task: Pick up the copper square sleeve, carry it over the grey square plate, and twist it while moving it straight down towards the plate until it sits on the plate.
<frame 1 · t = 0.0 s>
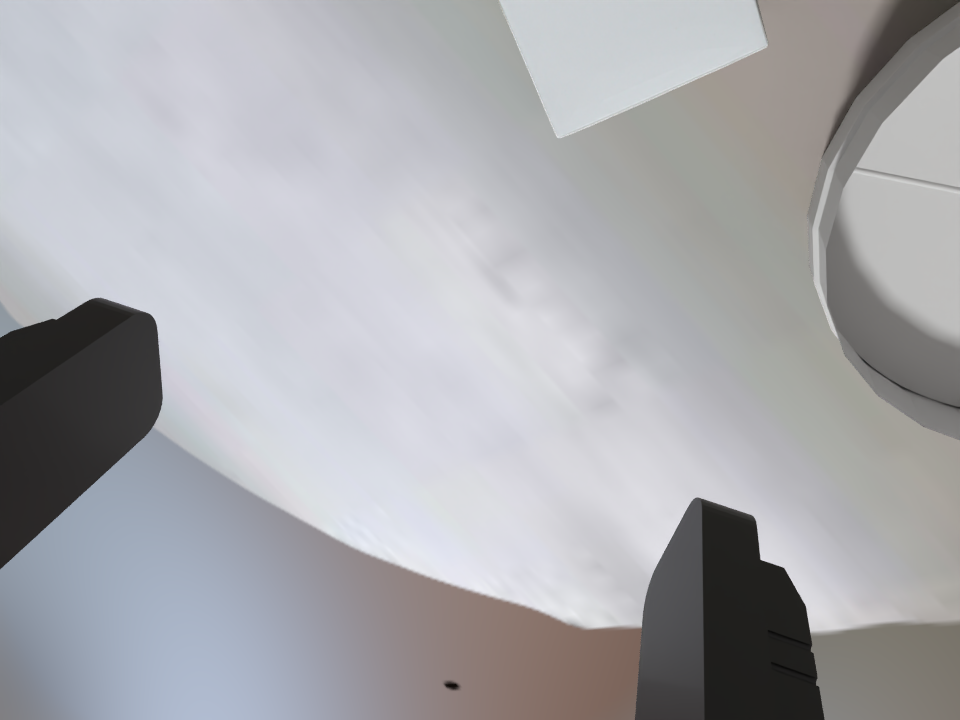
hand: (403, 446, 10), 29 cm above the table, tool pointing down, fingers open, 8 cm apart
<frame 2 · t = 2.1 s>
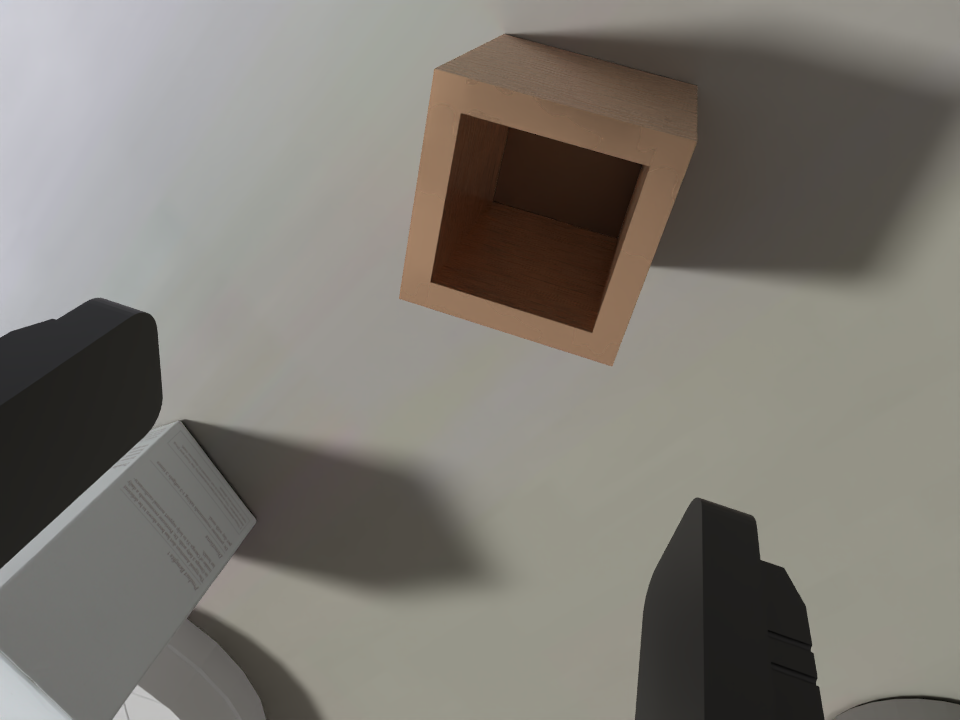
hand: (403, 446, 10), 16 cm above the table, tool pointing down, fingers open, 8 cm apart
supplement box: (179, 482, 38), on the table
dish: (134, 668, 51), on the table
sleeve: (572, 156, 23), on the table
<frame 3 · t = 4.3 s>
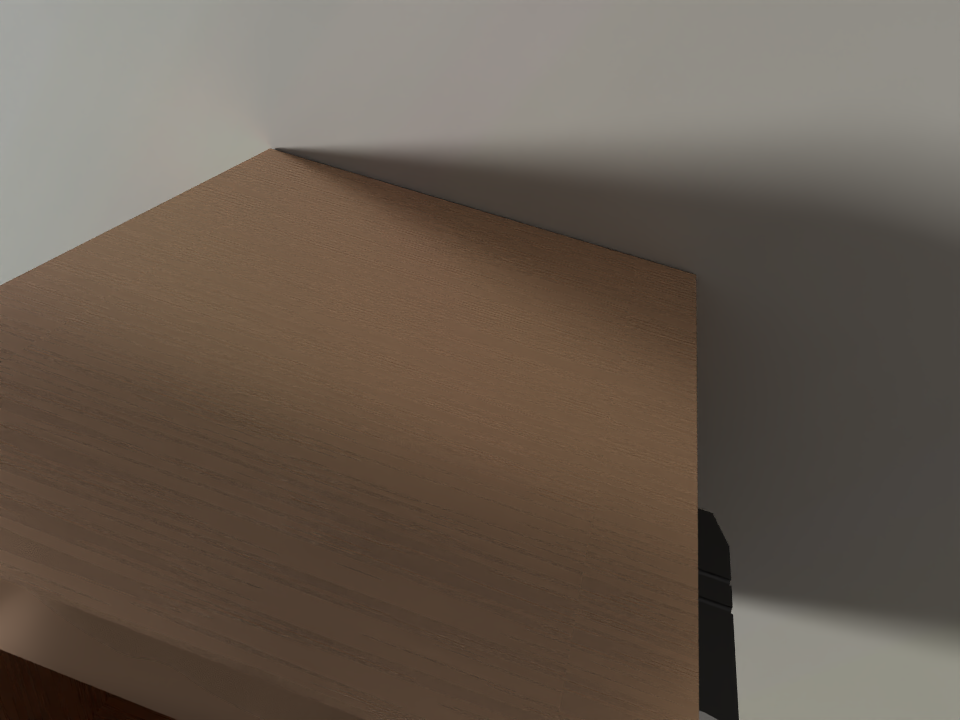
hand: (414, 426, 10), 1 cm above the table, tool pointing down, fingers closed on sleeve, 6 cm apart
sleeve: (439, 385, 11), on the table, touching gripper
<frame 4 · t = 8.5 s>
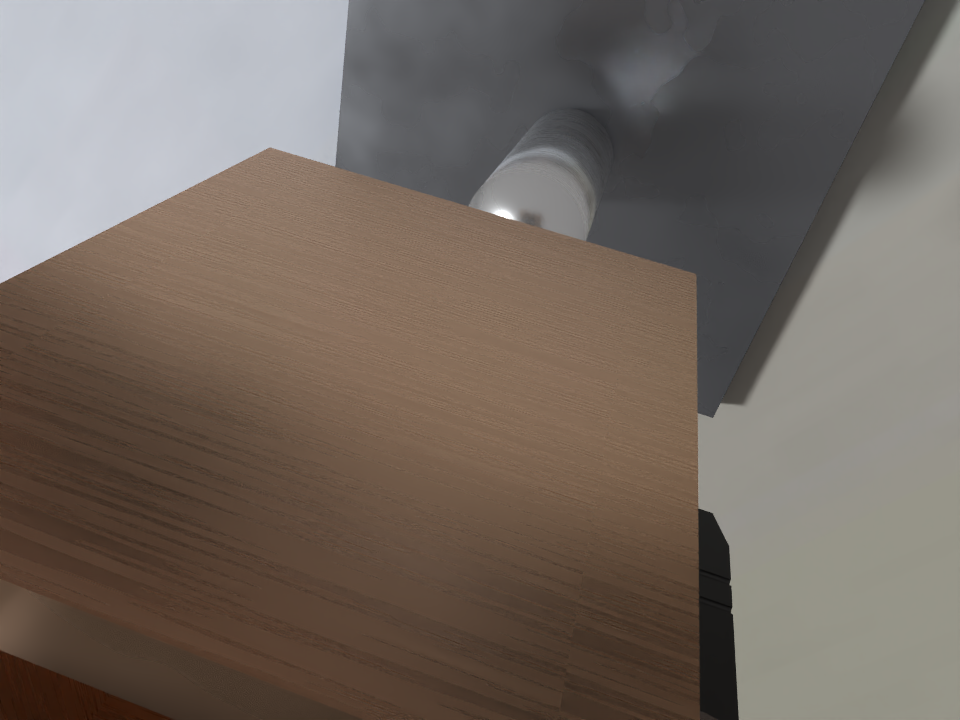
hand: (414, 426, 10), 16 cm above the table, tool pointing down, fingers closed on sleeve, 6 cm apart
sleeve: (439, 385, 11), point 15 cm above the table, touching gripper
grey square plate: (571, 148, 23), on the table
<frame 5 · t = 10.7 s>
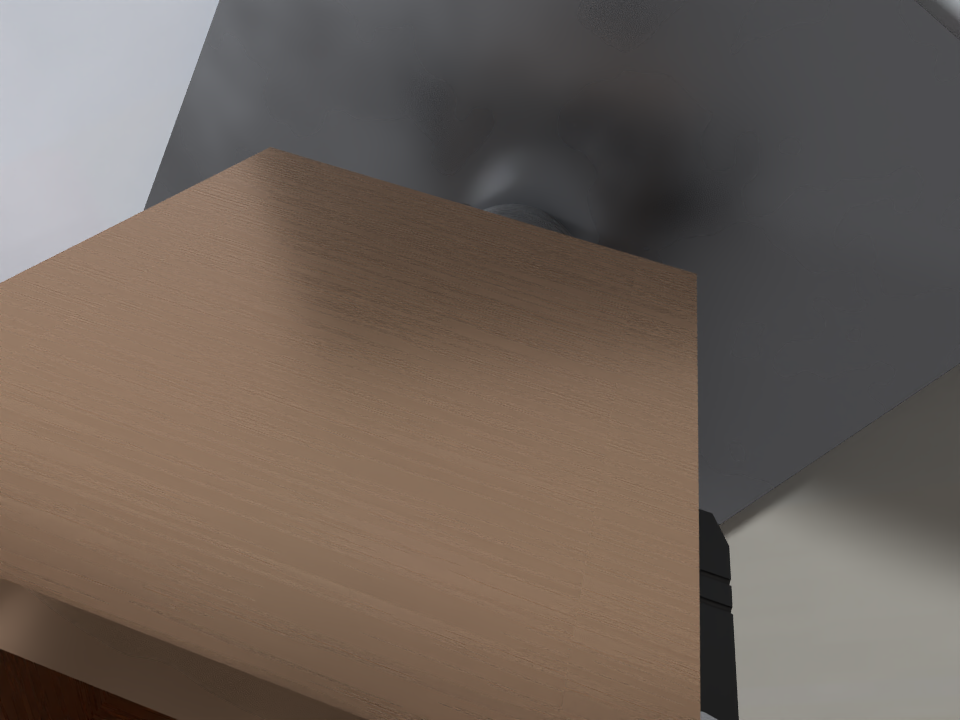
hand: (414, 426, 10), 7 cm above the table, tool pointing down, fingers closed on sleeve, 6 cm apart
sleeve: (439, 384, 11), point 6 cm above the table, touching gripper
grey square plate: (524, 253, 16), on the table
when the fingers open (4 cm above the table, at t = 12.6 s): sleeve drops 1 cm, resting on grey square plate.
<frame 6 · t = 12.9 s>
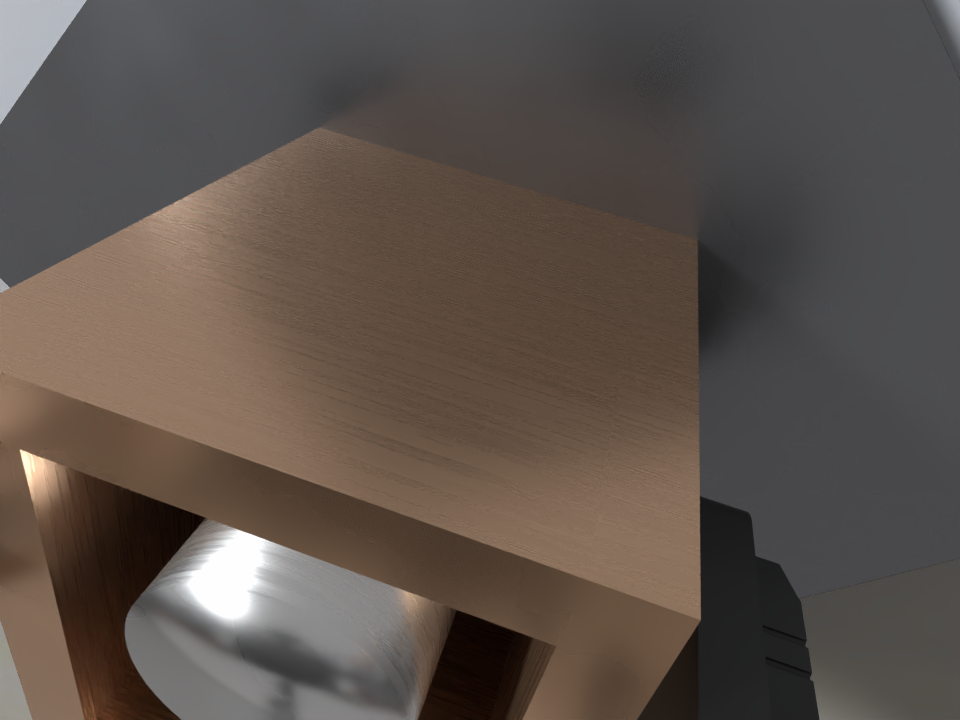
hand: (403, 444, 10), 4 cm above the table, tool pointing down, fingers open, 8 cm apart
sleeve: (465, 344, 12), point 1 cm above the table, touching grey square plate
grey square plate: (477, 315, 13), on the table
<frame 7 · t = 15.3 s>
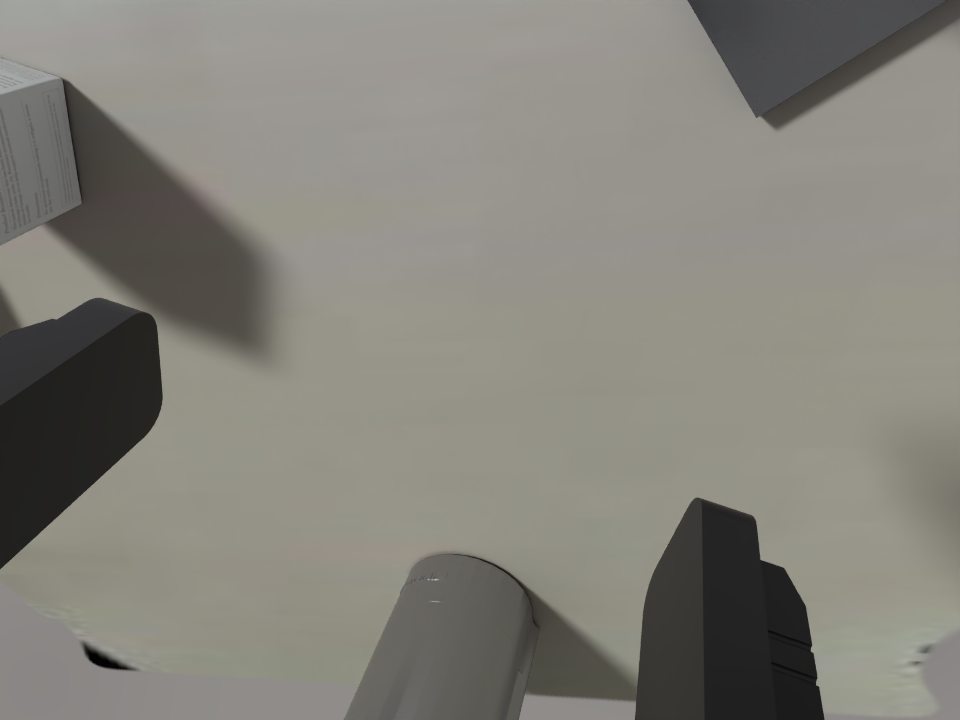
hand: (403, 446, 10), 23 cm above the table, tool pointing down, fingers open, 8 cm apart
supplement box: (19, 125, 37), on the table
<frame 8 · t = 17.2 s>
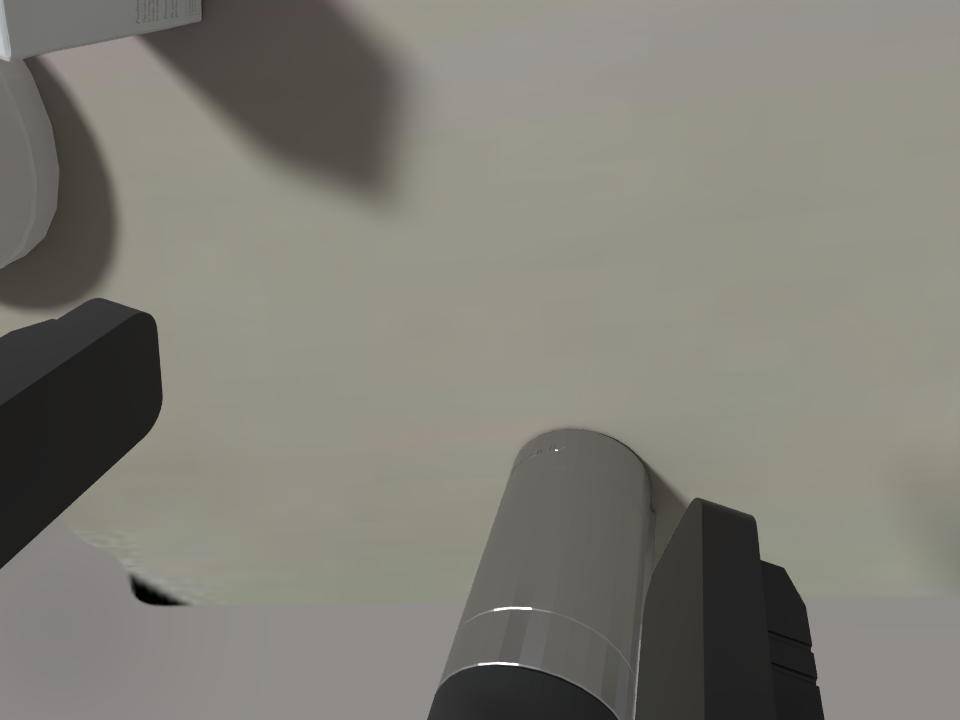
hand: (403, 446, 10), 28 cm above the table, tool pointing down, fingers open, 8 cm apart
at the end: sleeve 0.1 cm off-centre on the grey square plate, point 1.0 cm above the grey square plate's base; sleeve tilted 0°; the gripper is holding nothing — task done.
